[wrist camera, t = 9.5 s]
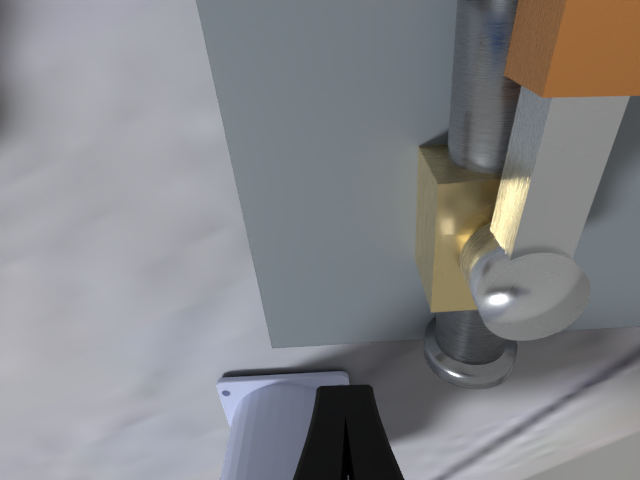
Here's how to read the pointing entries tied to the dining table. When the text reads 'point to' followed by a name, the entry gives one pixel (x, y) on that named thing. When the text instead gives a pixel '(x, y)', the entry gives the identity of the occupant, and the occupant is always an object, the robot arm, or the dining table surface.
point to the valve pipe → (466, 195)
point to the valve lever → (552, 161)
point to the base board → (369, 165)
